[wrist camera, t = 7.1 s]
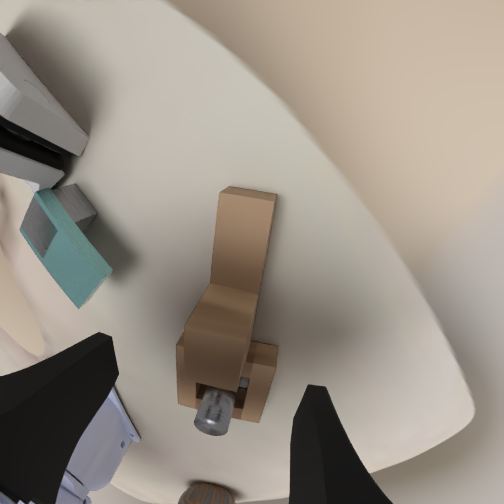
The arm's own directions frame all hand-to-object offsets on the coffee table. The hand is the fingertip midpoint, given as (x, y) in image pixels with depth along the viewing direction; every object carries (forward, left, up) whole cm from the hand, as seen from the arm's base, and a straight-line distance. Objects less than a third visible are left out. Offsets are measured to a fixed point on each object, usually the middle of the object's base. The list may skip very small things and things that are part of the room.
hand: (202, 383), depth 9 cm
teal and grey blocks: (0, +6, -6) cm, 8 cm away
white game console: (+14, +14, -7) cm, 21 cm away
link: (-1, 0, -6) cm, 6 cm away
